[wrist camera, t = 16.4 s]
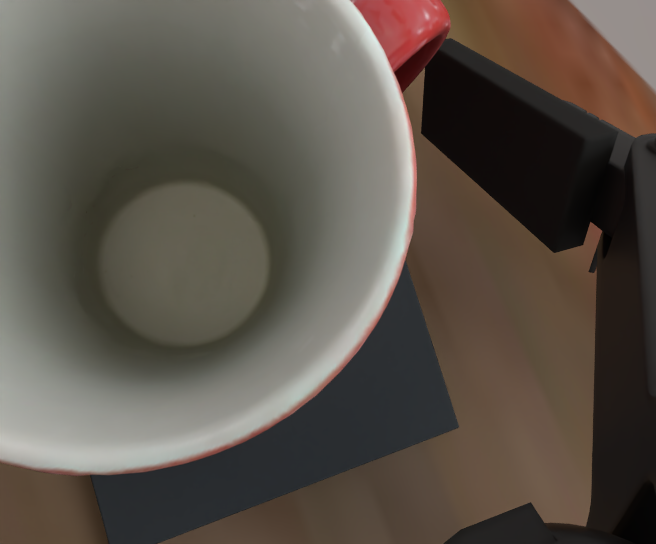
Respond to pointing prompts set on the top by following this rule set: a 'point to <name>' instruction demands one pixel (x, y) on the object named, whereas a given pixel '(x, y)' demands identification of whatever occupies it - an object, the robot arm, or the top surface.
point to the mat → (298, 437)
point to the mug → (194, 215)
